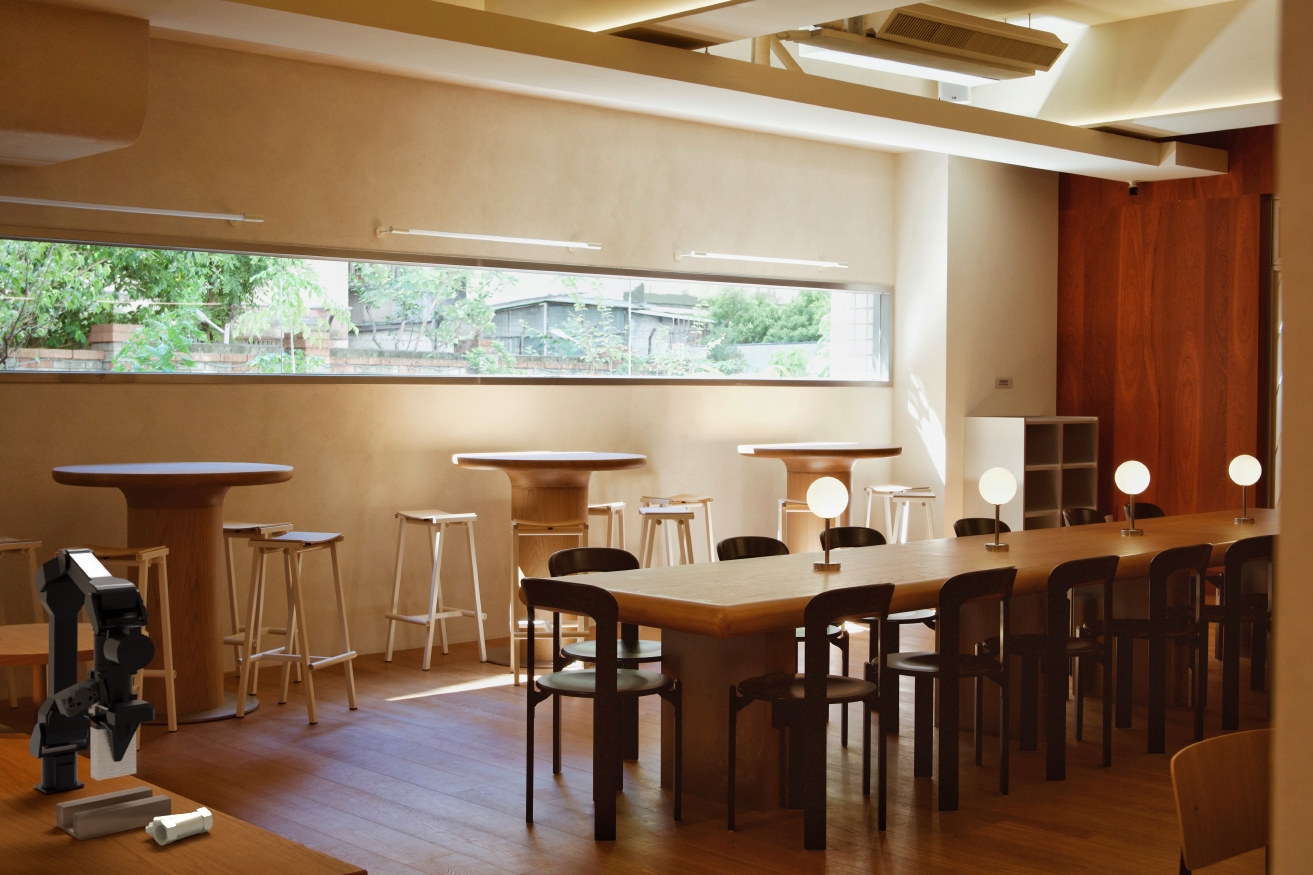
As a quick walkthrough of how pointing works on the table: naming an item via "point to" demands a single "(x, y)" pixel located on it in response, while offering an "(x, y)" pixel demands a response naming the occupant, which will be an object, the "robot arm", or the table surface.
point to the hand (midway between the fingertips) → (113, 759)
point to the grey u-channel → (111, 812)
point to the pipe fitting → (179, 826)
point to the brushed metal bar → (109, 756)
